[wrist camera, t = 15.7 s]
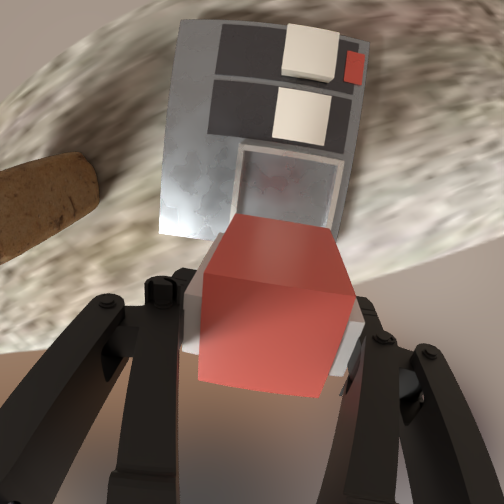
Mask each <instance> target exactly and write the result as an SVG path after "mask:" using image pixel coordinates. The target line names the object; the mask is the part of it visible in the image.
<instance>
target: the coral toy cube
mask: <svg viewBox="0 0 504 504" xmlns="http://www.w3.org/2000/svg"><path fill="white" fill-rule="evenodd" d="M355 299H356V295H355V292H354V289H353V287H352V284H351V281H350V279H349V276H348V273H347V271H346V268H345V265H344V263H343V260H342V258H341V255H340V253H339V250H338V248H337V245H336V243H335V240H334V238H333V235H332V233H331V231H330V229H329V228H324V227H318V226H312V225H306V224H300V223H294V222H288V221H282V220H276V219H270V218H263V217H257V216H250V215H244V214H237V213H235V215H234V217H233V218H232V220H231V222H230V224H229V226H228V228H227V230H226V231H225V233H224V235H223V237H222V239H221V241H220V243H219V244H218V246H217V248H216V250H215V252H214V254H213V256H212V258H211V260H210V261H209V263H208V265H207V267H206V269H205V271H204V274H203V289H202V305H201V322H200V342H199V366H198V380H200V381H205V382H210V383H215V384H220V385H226V386H231V387H237V388H243V389H249V390H256V391H263V392H270V393H277V394H285V395H294V396H303V397H313V398H319V396H320V393H321V391H322V388H323V386H324V384H325V381H326V379H327V376H328V374H329V371H330V369H331V366H332V364H333V361H334V358H335V356H336V353H337V350H338V348H339V345H340V342H341V340H342V337H343V334H344V331H345V328H346V325H347V323H348V320H349V317H350V314H351V311H352V308H353V305H354V302H355Z"/></svg>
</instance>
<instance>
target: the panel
mask: <svg viewBox="0 0 504 504" xmlns="http://www.w3.org/2000/svg"><path fill="white" fill-rule="evenodd" d="M287 27H288V26H287V25H280V24H271V23H262V22H251V21H236V20H207V19H192V20H181V22H180V27H179V33H178V39H177V44H176V51H175V57H174V63H173V70H172V77H171V85H170V93H169V101H168V109H167V119H166V128H165V139H164V151H163V164H162V179H161V197H160V221H159V233H162V234H169V235H175V236H182V237H189V238H195V239H202V240H208V241H215V239H216V237H217V235H218V234H219V232H221V233H225V231H226V230H227V228H228V226H229V224H230V222H231V220H232V218H233V217H234V215H235V213H237V214H244V215H250V216H257V217H263V218H270V219H276V220H282V221H288V222H294V223H300V224H306V225H312V226H318V227H324V228H329V229H330V231H331V233H332V235H333V238H334V240H335V243H336V240H337V236H338V231H339V227H340V222H341V218H342V213H343V209H344V204H345V199H346V194H347V189H348V184H349V179H350V174H351V169H352V164H353V158H354V153H355V147H356V141H357V135H358V129H359V123H360V116H361V110H362V103H363V96H364V89H365V81H366V73H367V65H368V56H369V46H370V42H367V41H363V40H359V39H355V38H351V37H347V36H342V35H339V43H338V52H337V60H336V68H335V75H334V79H332V80H331V81H330V82H329V83H325V82H320V81H315V80H309V79H304V78H298V77H291V76H285V75H281V73H282V62H283V55H284V48H285V41H286V34H287ZM279 87H282V88H289V89H295V90H301V91H307V92H313V93H318V94H323V95H328V96H332V97H331V104H330V111H329V118H328V124H327V130H326V137H325V143H324V146H321V145H316V144H310V143H304V142H299V141H293V140H286V139H280V138H273V137H272V133H273V126H274V119H275V112H276V105H277V98H278V91H279Z"/></svg>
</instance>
